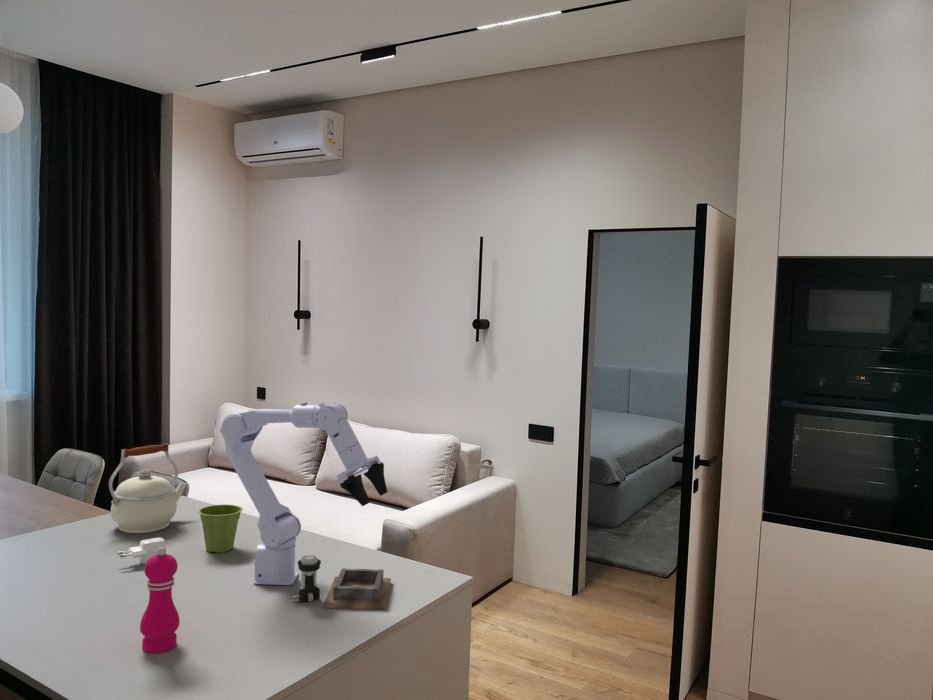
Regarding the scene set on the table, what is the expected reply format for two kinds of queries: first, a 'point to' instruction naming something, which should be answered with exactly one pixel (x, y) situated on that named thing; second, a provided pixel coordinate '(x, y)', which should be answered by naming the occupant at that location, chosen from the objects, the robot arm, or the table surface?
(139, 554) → the power adapter
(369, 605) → the socket board
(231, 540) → the plant pot
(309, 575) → the push button
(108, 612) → the table surface
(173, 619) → the pepper mill
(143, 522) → the kettle
